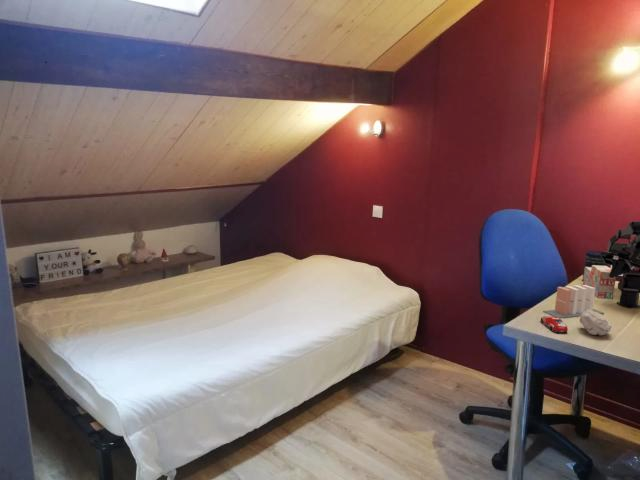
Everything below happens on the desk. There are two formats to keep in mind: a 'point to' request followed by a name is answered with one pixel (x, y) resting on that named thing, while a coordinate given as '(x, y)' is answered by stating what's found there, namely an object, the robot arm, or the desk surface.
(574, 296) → the domino
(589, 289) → the domino
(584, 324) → the fossil replica
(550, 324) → the race car
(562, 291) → the domino
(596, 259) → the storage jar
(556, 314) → the domino mat
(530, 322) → the desk surface
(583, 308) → the domino
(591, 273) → the stack of blocks
